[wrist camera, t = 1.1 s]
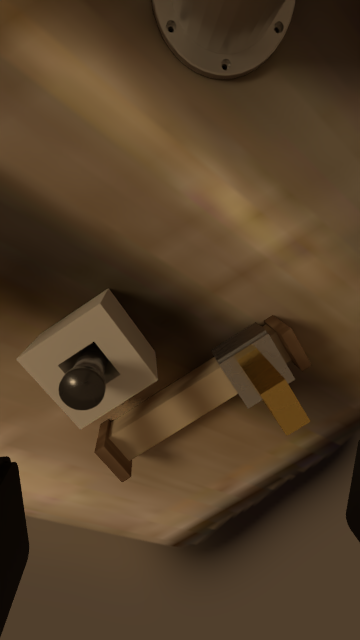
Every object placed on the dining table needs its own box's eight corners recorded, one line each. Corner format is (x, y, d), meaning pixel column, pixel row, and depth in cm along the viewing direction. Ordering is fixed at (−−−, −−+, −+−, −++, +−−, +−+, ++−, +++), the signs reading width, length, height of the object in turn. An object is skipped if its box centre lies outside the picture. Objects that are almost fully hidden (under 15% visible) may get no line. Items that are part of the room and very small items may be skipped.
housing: (108, 288, 34) (99, 303, 27) (157, 354, 37) (160, 383, 30) (40, 333, 35) (16, 359, 28) (93, 395, 37) (82, 432, 31)
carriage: (255, 321, 36) (299, 359, 26) (282, 366, 38) (332, 418, 28) (210, 350, 36) (236, 398, 26) (239, 393, 38) (273, 453, 28)
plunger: (98, 333, 31) (86, 361, 25) (119, 361, 32) (113, 395, 26) (68, 353, 32) (48, 386, 25) (90, 379, 33) (77, 418, 26)
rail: (272, 315, 37) (291, 328, 32) (291, 348, 39) (311, 365, 34) (100, 424, 39) (94, 452, 34) (124, 451, 40) (122, 482, 35)
